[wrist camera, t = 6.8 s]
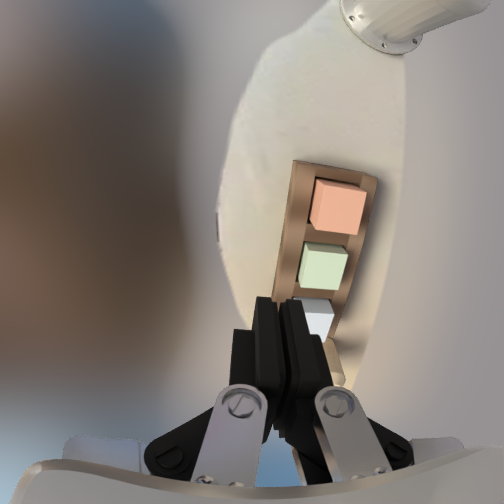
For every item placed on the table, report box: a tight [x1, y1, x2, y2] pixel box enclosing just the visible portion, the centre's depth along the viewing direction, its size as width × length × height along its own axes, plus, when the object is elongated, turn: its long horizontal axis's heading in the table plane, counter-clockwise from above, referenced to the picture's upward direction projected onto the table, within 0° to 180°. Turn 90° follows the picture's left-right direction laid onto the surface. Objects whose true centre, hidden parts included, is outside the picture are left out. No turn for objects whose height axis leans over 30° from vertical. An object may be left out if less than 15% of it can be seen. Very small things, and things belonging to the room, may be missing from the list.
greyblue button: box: [292, 296, 334, 342], centre depth 38 cm, size 5×5×4 cm
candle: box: [322, 337, 346, 387], centre depth 42 cm, size 6×6×10 cm
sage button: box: [297, 241, 348, 290], centre depth 36 cm, size 5×5×4 cm
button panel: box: [271, 160, 378, 337], centre depth 37 cm, size 24×10×4 cm, turn 174°
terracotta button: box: [308, 178, 367, 235], centre depth 31 cm, size 5×5×4 cm
